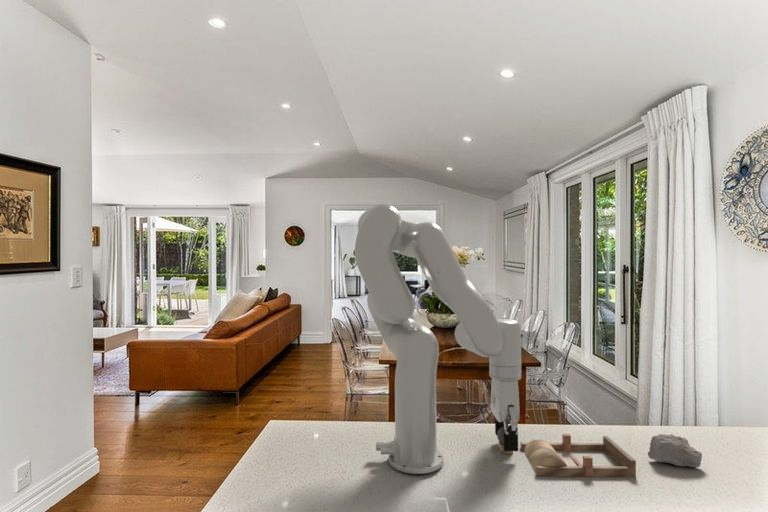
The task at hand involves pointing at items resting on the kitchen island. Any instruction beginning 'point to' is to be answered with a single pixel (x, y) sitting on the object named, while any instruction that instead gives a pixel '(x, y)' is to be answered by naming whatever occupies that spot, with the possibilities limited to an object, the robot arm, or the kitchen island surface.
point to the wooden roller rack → (553, 465)
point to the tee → (501, 448)
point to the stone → (674, 451)
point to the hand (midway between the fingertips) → (506, 442)
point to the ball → (501, 435)
